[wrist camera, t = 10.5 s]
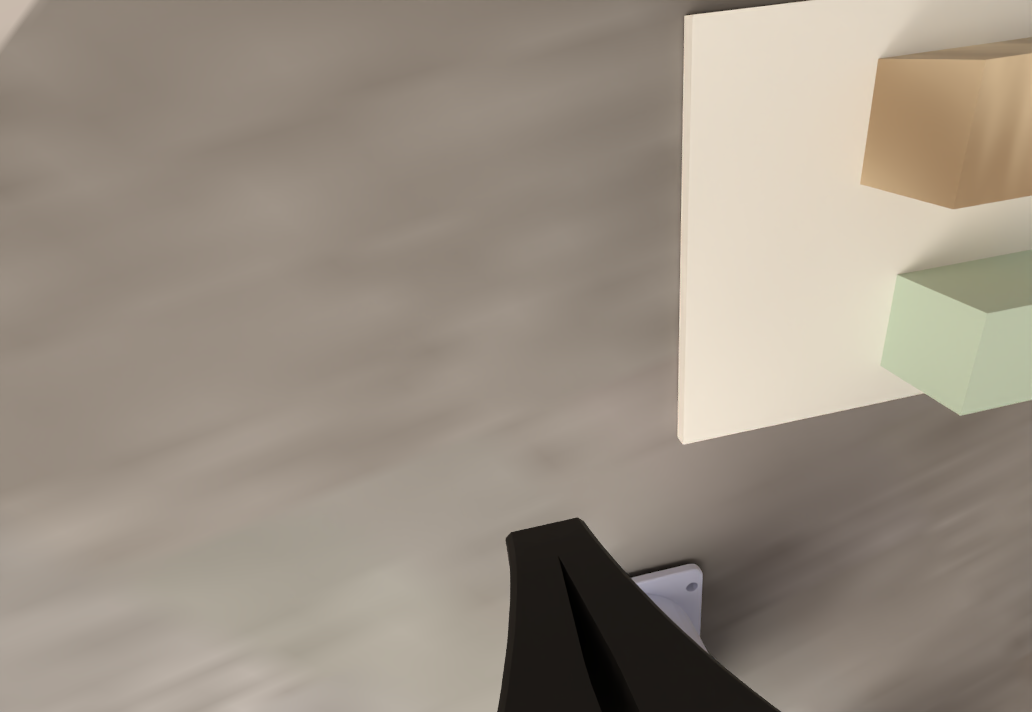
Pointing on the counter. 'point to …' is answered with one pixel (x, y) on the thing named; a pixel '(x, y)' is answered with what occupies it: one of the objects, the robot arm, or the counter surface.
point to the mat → (808, 206)
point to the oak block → (953, 125)
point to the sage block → (965, 332)
